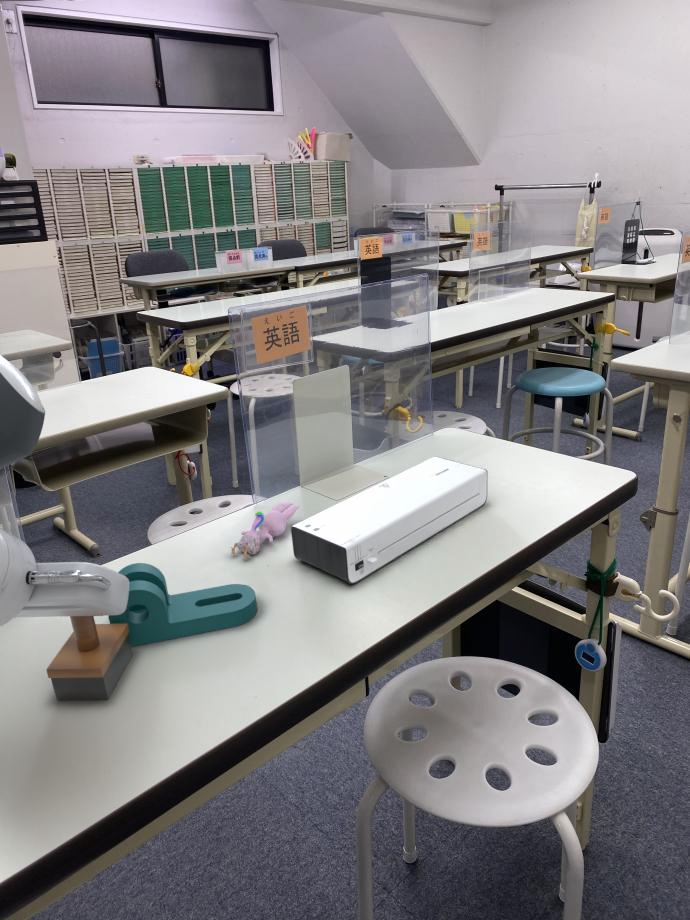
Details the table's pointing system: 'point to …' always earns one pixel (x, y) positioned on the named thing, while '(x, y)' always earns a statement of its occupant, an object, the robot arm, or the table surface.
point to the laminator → (389, 518)
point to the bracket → (179, 607)
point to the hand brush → (90, 660)
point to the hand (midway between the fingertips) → (55, 609)
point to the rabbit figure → (265, 528)
